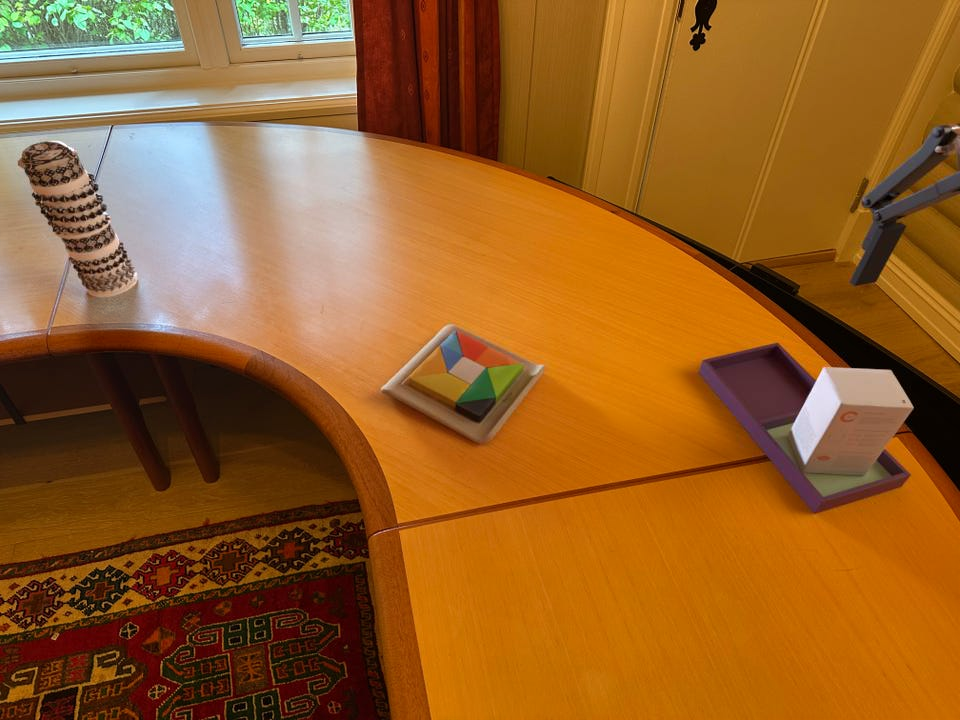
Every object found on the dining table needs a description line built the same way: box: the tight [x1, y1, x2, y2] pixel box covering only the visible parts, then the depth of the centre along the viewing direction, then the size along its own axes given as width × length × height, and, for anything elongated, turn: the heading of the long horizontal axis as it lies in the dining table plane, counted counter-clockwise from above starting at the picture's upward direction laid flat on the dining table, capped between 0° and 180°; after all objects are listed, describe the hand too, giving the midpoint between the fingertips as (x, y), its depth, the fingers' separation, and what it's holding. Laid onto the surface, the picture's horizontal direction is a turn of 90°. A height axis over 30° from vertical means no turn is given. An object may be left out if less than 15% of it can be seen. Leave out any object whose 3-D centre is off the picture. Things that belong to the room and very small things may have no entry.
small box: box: [788, 366, 914, 476], centre depth 75 cm, size 8×6×13 cm
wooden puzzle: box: [380, 323, 547, 445], centre depth 88 cm, size 18×19×4 cm
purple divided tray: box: [698, 342, 912, 514], centre depth 83 cm, size 13×26×3 cm, turn 17°
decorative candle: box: [17, 140, 139, 298], centre depth 99 cm, size 9×9×25 cm
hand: (915, 322), depth 57 cm, fingers open, 13 cm apart
